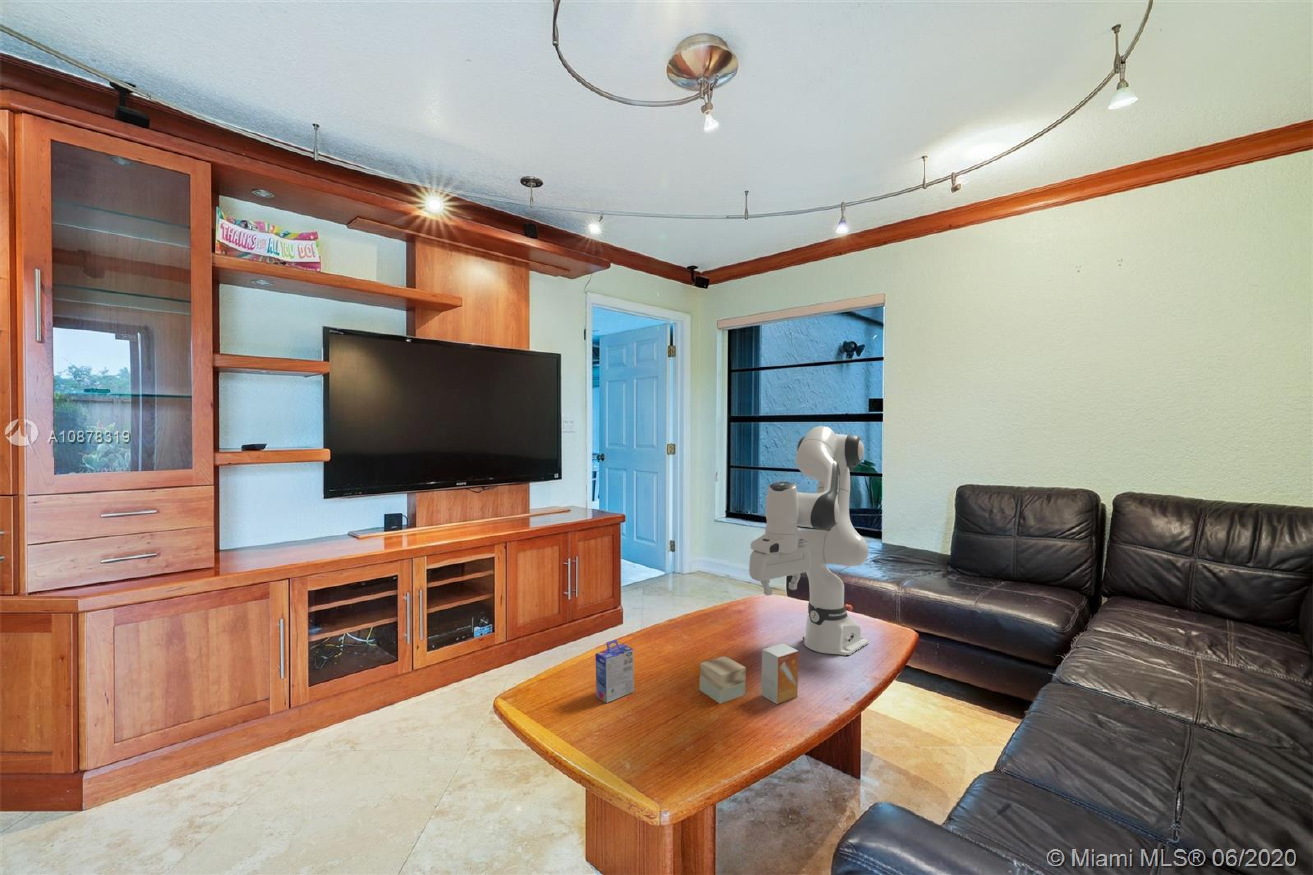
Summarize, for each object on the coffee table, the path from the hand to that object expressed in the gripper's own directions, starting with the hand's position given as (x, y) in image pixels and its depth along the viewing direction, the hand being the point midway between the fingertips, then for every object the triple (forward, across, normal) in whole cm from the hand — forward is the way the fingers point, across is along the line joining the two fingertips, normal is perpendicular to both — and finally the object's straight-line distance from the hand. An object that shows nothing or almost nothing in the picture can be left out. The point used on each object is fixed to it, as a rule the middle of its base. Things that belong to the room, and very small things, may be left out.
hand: (780, 592), depth 150 cm
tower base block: (+30, +12, -10) cm, 33 cm away
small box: (+29, 0, 0) cm, 29 cm away
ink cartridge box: (+29, +38, -25) cm, 54 cm away
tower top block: (+26, +12, -10) cm, 30 cm away
